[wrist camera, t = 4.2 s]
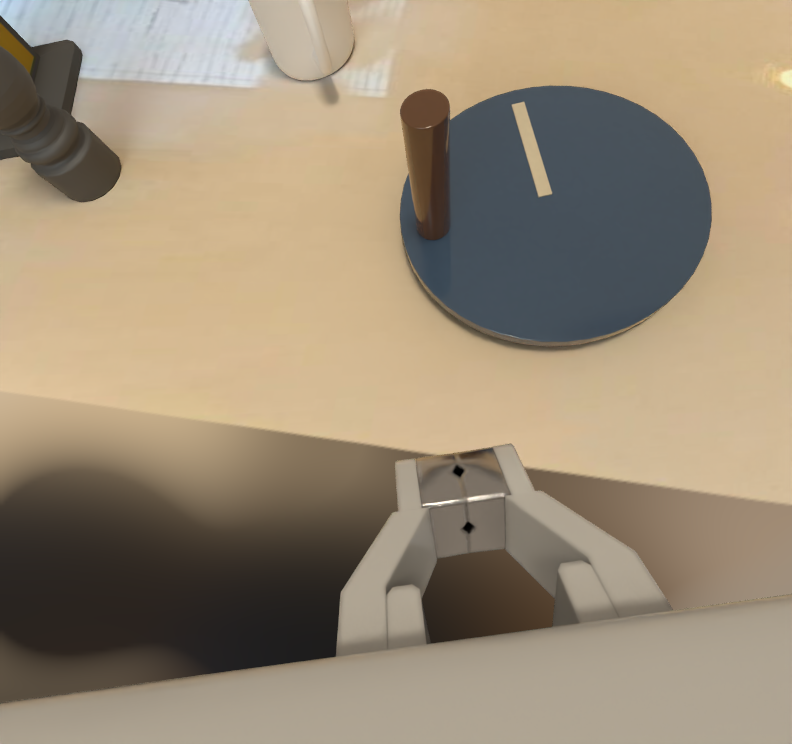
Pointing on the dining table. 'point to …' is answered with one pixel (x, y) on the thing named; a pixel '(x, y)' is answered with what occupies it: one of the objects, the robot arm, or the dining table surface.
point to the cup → (306, 35)
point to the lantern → (43, 72)
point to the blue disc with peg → (550, 212)
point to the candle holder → (53, 137)
